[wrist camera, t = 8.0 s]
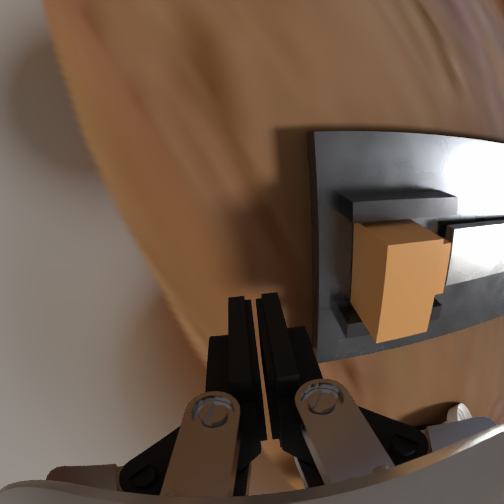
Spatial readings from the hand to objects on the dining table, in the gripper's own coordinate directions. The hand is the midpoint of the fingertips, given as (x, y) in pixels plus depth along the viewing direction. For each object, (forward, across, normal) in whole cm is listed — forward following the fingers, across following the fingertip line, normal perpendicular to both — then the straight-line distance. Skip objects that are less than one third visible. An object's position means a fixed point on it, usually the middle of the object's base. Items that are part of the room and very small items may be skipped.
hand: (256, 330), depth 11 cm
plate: (+7, -16, +1) cm, 17 cm away
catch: (+6, -8, +1) cm, 10 cm away
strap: (+5, -19, +1) cm, 20 cm away
